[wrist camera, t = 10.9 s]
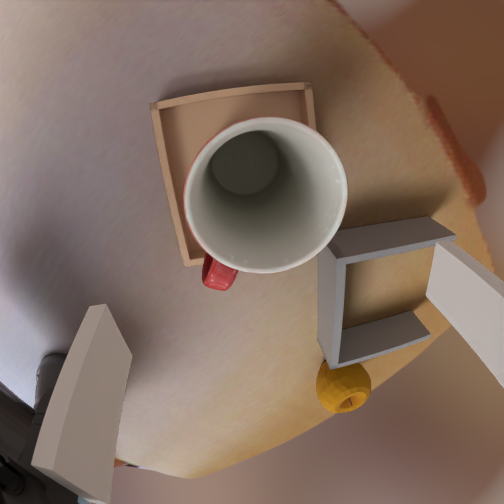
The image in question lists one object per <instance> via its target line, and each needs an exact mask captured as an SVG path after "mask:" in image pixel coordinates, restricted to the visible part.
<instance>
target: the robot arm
mask: <svg viewBox="0 0 504 504" xmlns="http://www.w3.org/2000/svg"><path fill="white" fill-rule="evenodd" d="M426 297H427V298H428V299H429V300H430V301H431V302H432V303H433V304H434V305H435V306H436V308H437V309H438V310H439V311H440V312H441V313H442V314H443V315H444V316H445V317H446V319H447V320H448V321H449V322H450V323H451V324H452V325H453V326H454V328H455V329H456V330H457V331H458V332H459V333H460V334H461V336H462V337H463V338H464V339H465V340H466V341H467V343H468V344H469V345H470V346H471V347H472V349H473V350H474V351H475V352H476V354H477V355H478V356H479V357H480V358H481V360H482V361H483V362H484V363H485V365H486V366H487V367H488V368H489V370H490V371H491V372H492V374H493V375H494V376H495V377H496V379H497V380H498V381H499V383H500V384H501V385H502V386H503V388H504V282H503V281H502V280H500V279H499V278H498V277H497V276H495V275H494V274H493V273H492V272H491V271H490V270H488V269H487V268H486V267H485V266H483V265H482V264H481V263H479V262H478V261H477V260H476V259H474V258H473V257H472V256H470V255H469V254H468V253H466V252H465V251H464V250H462V249H461V248H460V247H458V246H457V245H456V244H454V243H453V242H451V241H450V240H449V239H447V240H443V241H438V242H436V245H435V251H434V257H433V262H432V268H431V273H430V278H429V282H428V287H427V291H426ZM132 356H133V355H132V354H131V352H130V350H129V348H128V346H127V344H126V342H125V340H124V338H123V337H122V335H121V333H120V331H119V329H118V327H117V325H116V323H115V321H114V318H113V316H112V314H111V312H110V310H109V308H108V306H107V304H101V305H94V306H89V308H88V311H87V313H86V315H85V317H84V319H83V321H82V323H81V325H80V328H79V330H78V332H77V334H76V336H75V339H74V341H73V343H72V346H71V348H70V350H69V353H68V355H62V354H53V355H48V356H46V357H45V358H43V360H42V361H41V363H40V365H39V367H38V370H37V374H36V380H37V385H36V396H35V405H34V408H31V407H30V406H29V405H28V404H26V403H25V402H24V401H23V400H21V399H20V398H19V397H18V396H16V395H15V394H14V393H13V392H12V391H11V390H9V389H8V388H7V387H6V386H5V385H4V384H3V383H2V382H0V504H89V503H90V502H94V503H99V504H110V497H111V485H112V475H113V467H114V458H115V451H116V443H117V437H118V430H119V424H120V418H121V412H122V406H123V401H124V395H125V390H126V385H127V380H128V375H129V370H130V366H131V361H132Z"/></svg>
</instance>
